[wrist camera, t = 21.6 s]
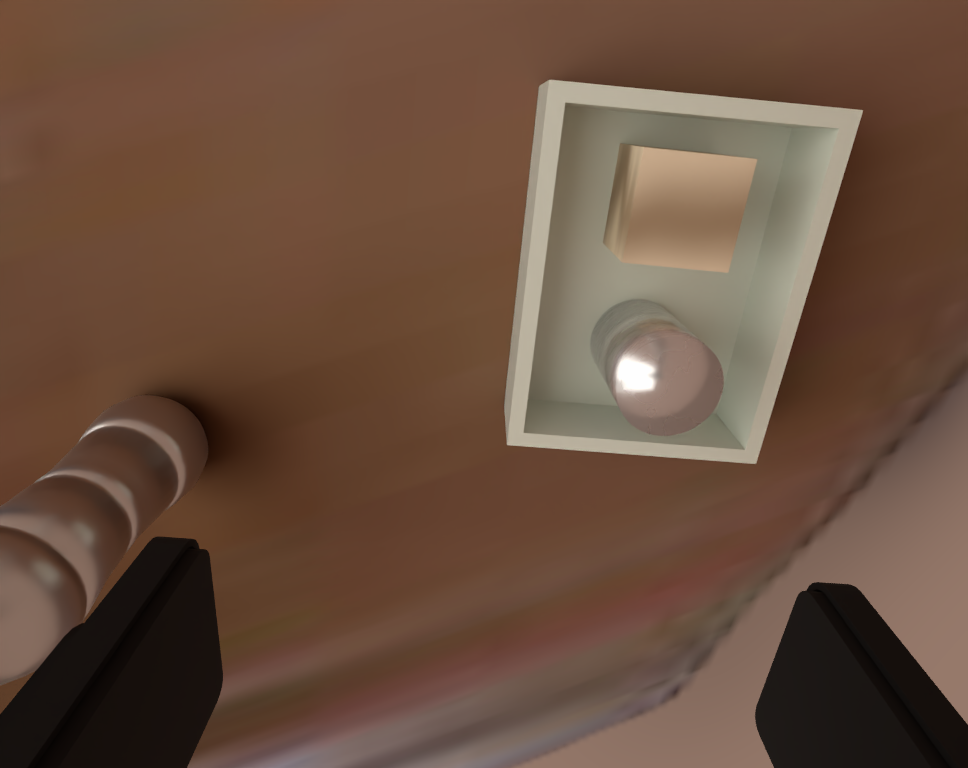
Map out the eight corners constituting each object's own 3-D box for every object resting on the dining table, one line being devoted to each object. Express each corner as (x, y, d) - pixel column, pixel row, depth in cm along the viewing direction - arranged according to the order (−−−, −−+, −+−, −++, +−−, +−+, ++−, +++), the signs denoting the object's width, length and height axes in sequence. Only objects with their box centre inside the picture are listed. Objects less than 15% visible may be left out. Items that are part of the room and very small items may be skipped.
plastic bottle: (221, 392, 37) (-39, 660, 19) (219, 486, 40) (-10, 802, 21) (111, 374, 36) (-267, 631, 18) (117, 470, 39) (-208, 779, 21)
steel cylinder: (602, 291, 34) (633, 327, 27) (688, 307, 34) (739, 347, 28) (580, 374, 36) (604, 426, 29) (662, 388, 36) (704, 443, 30)
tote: (539, 86, 30) (549, 79, 26) (806, 112, 31) (863, 110, 26) (504, 405, 37) (506, 444, 33) (722, 422, 38) (755, 463, 33)
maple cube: (619, 143, 31) (643, 147, 26) (716, 153, 31) (757, 159, 26) (602, 242, 33) (622, 262, 28) (694, 251, 33) (728, 272, 28)
